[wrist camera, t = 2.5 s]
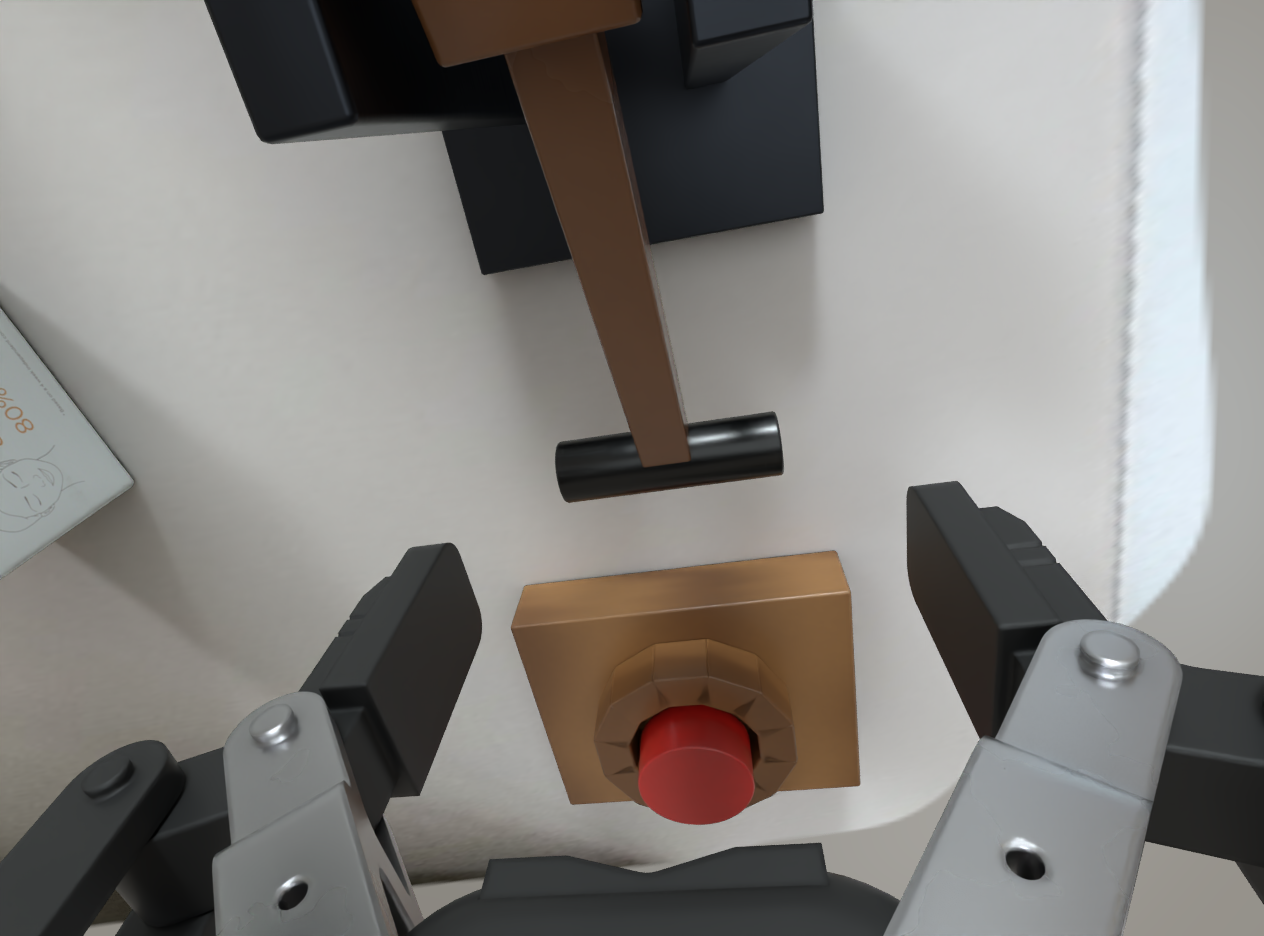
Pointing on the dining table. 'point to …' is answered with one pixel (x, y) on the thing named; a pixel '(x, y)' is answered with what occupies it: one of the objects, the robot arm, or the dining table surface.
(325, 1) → the bracket
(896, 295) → the dining table surface
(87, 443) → the small box
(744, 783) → the button
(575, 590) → the button block
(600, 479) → the lever
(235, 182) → the dining table surface
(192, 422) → the dining table surface
